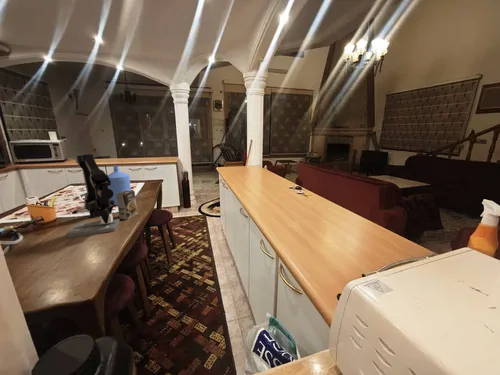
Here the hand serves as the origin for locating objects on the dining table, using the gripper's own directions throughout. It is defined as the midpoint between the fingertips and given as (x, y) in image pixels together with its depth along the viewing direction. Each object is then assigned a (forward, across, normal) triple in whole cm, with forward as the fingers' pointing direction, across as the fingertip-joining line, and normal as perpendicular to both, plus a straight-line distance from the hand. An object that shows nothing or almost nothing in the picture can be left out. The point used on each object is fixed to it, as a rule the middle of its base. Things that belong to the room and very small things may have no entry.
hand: (107, 221), depth 125 cm
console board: (+4, 0, -6) cm, 7 cm away
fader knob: (+1, 0, 0) cm, 1 cm away
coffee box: (+4, -14, +8) cm, 17 cm away
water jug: (+4, -47, -2) cm, 47 cm away
